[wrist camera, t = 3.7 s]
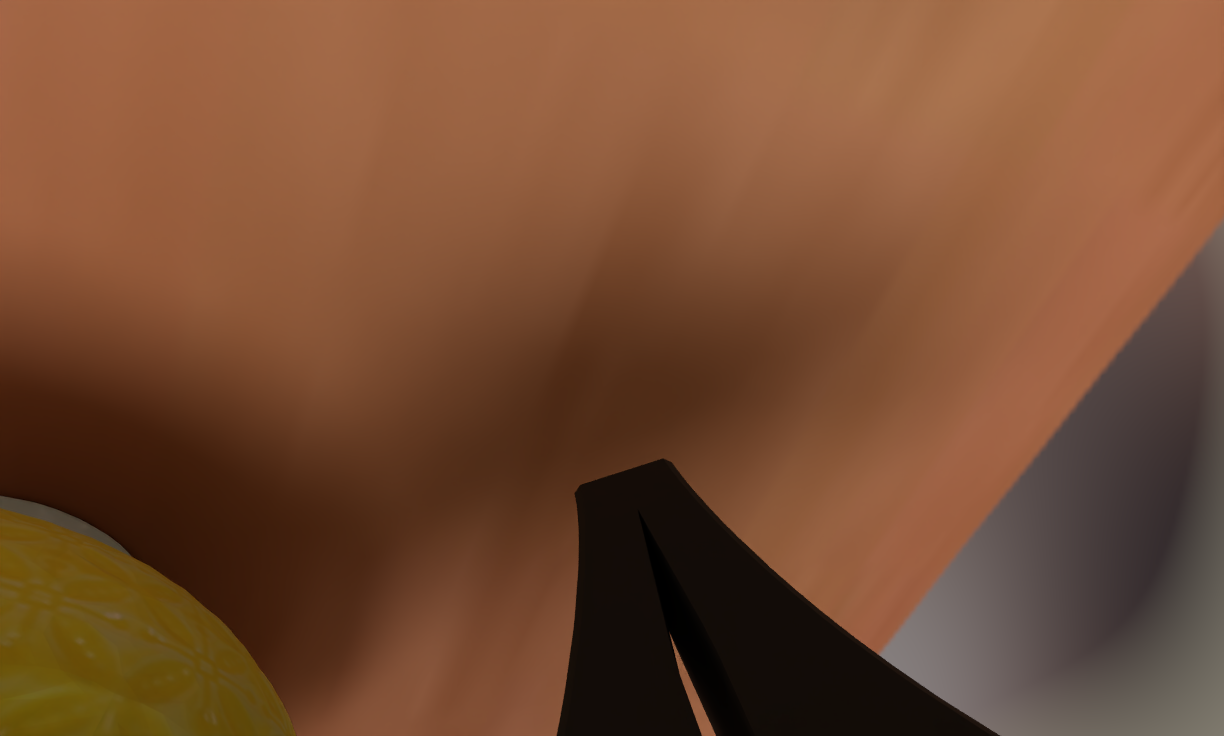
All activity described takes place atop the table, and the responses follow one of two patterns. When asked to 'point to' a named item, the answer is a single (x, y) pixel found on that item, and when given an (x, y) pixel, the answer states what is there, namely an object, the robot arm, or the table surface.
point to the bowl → (113, 642)
